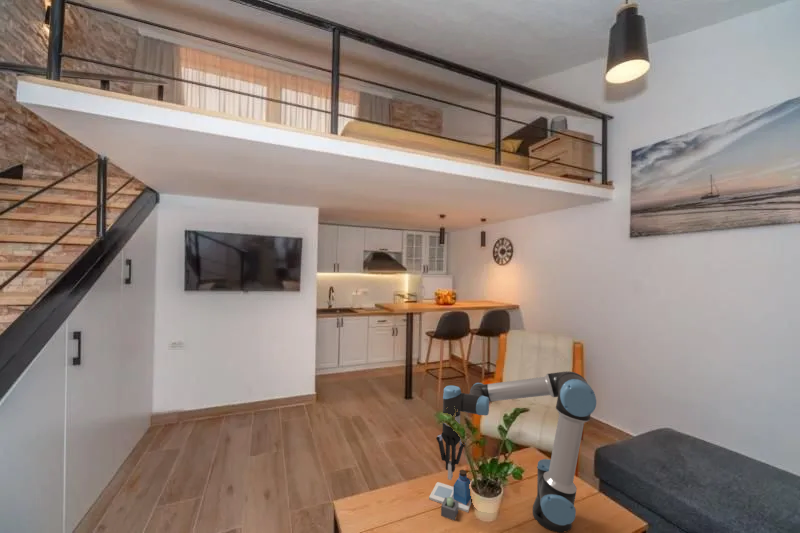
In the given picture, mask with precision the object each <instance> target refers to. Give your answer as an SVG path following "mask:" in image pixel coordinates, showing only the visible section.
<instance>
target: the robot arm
mask: <svg viewBox="0 0 800 533" xmlns="http://www.w3.org/2000/svg"><path fill="white" fill-rule="evenodd" d="M442 395H443V396H442V414H443V413H448V414H451V415H452V416H453V415H454V413H455V409H456V411H457V409H458V412H456V416H455V420H456V421H457V422H458V423H459V424H460V425H461V412H462V413H468V414H474V415H477V416H488V415H489V413H490V403H491V402H499V401H509V400H516V399H527V398H534V397H535V398H536V397H545V396H551V397H552V398H557V399H556V406H555V410H556V411H557V413H558V420H557V425H556V428H555V429H556V430H555V435H554V440H553V446H552V452H551V456H550V459H549V458H548V459H547V458H545V459H543V458H542V459H540V460H538V461H537V466H536V469H537V474H536V475H537V481H536V482H537V484H536V485H537V488H536V489H537V491H536V493H537V494H536V497H535V500H534V502H533V505H532V516H533V518H534V520H535V521H536V520H537V521H538V522H539V523H538V522H537V521H536V522H537V523H538V524H539V525H540V526H542V527H543V526H544V527H543V528H546V529H547V530H550V531H552V530H553V531H552V532H555V531H557V532H556V533H565V532H564V531H567V532H568V530H569V531H570V530H571V529H572V527H573V522H574V521H575V519H576V514H577V513H576V507H575V501H576V495H577V489H578V488H577V486H576V484H575V483H574V480H575V475H576V469H577V463H578V459H579V458H578V457H579V453H580V447H581V442H582V438H583V437H582V436H583V431H584V426H585V423H587V422H590V419H591V414H593V412H594V411H595V410H596V407H597V396H596V394H595V391H594V389H593V388H592V387H591V385H590V384H588V382H587V380H586V378H585V377H583V376H582V375H581V374H579V373H577V372H575V371H568V370H567V371H558V372H550V373H547V374H545V376H540V377H533V378H531V377H530V378H525V379H517V380H509V381H503V382H501V381H500V382H494V383H485V384H484V383H482V382H475V383H474V384H473V385H472V386H471V387H470V390H469V393H465V392H462V391H461V388H460V386H456V385H446V386H445V387H444V388H443V394H442ZM454 406H455V407H454ZM447 407H448V408H447ZM446 408H447V409H446ZM454 408H455V409H454ZM435 438H436V441H437V443H438V447H439V452H440V459H441V461H444V462H445V470H446V471H447V480H449V481H452V479H453V476H454V475H453V474H454V472H455V470H456V465H459V463H460V462H461V456H462V454H463V449H464V448H465V446H466V444H467V442H466V443H465V445H463V444H464V443H463V444H462V442H461V439H462V438H461V439H460V437H459V436H458V434H457V433H456V432H455V431H453V429H452V428H451V427H450V426H449V425H447V424H446V423H443V422H442V430H441V434H438V435H437V436H436V437H435ZM444 443H445V446H444ZM458 443H459V448H458V452H457V445H458ZM456 454H457V455H456Z"/></svg>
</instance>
